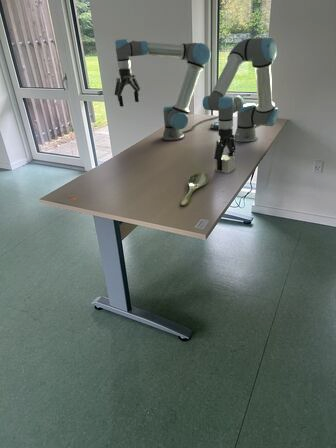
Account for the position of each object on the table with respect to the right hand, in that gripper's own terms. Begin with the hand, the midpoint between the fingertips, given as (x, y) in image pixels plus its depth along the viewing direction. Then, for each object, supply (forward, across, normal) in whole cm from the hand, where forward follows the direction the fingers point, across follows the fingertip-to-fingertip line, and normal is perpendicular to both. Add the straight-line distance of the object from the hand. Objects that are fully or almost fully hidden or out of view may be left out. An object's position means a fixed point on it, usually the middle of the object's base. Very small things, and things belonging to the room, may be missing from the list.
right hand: (225, 166), depth 189 cm
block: (+2, 0, 0) cm, 2 cm away
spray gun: (+2, -74, -50) cm, 89 cm away
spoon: (+2, +30, +1) cm, 30 cm away
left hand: (-29, +2, -72) cm, 78 cm away
